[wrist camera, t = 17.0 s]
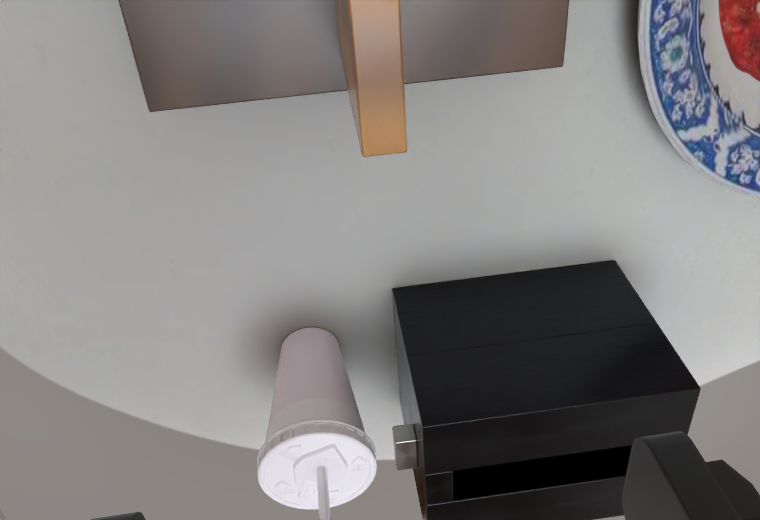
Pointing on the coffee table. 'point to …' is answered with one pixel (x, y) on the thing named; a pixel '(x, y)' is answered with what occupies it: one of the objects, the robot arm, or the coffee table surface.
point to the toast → (374, 72)
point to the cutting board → (324, 45)
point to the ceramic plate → (706, 84)
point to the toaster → (531, 392)
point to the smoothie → (314, 429)
